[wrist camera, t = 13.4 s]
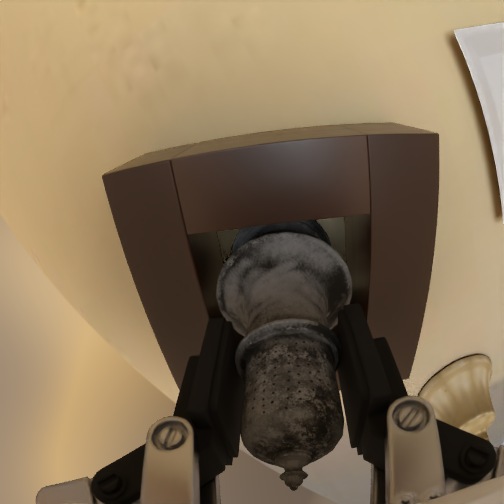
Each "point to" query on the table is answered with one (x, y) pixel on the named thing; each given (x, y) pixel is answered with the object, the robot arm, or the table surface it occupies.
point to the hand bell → (463, 395)
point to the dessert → (488, 83)
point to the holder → (281, 221)
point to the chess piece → (287, 341)
